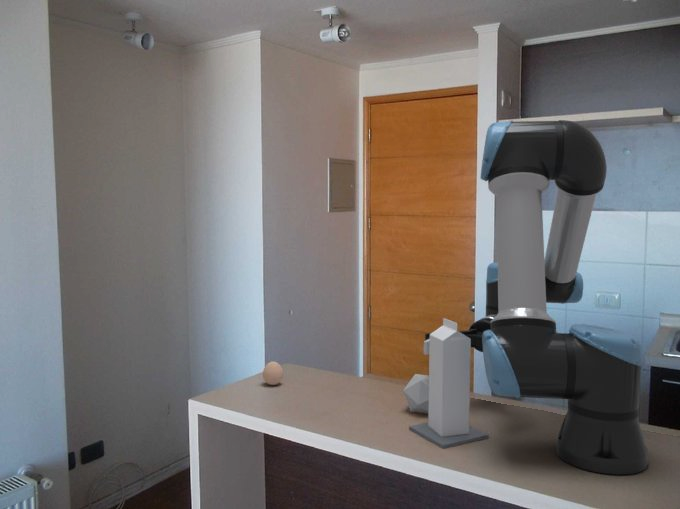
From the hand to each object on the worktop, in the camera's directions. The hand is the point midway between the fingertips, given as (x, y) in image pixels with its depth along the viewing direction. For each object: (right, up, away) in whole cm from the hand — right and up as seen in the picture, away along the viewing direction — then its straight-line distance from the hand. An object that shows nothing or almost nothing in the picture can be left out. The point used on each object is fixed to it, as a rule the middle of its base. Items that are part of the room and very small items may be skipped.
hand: (456, 352), depth 124 cm
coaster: (-2, -16, -3) cm, 16 cm away
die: (-5, -15, +11) cm, 19 cm away
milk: (-2, -15, -3) cm, 16 cm away
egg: (-40, -13, +30) cm, 52 cm away
